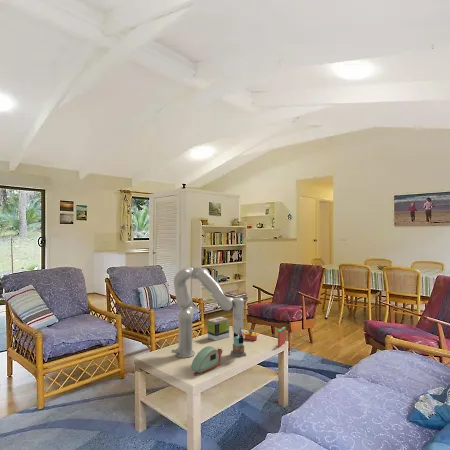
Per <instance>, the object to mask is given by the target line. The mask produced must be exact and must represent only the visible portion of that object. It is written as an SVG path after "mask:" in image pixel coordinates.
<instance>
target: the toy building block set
mask: <svg viewBox="0 0 450 450" xmlns="http://www.w3.org/2000/svg"><path fill="white" fill-rule="evenodd" d="M286 327H287V326H283V327H280V329H278V331H277V348H280V347H282V346H283V345H284V344H286V343H285V341H286V342H287V330H286ZM254 331H255V330H254V329H249V330H247V331H244V340H249V341H257V340H258V336H259V333H256V332H254ZM240 335H241V334H240Z"/></svg>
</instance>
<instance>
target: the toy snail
mask: <svg viewBox="0 0 450 450" xmlns="http://www.w3.org/2000/svg"><path fill="white" fill-rule="evenodd" d="M222 354H223V349H222V348H216V347H214V346H211V345H210V346H206V347H203V348H202V349H201V350H200V351H199V352H197V353H196V355H195V356H194V358H193V360H192V362H191V366H190V369H191V371H192V372H194V373H193V374H194V375H193V376H197V375H196V374H199V375H201V373H202V374H204V372H205V373H207V372H210V371H211V370H214V369H215V368H217V367H219V366H220V365H221V358H222Z"/></svg>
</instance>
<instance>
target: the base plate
mask: <svg viewBox="0 0 450 450" xmlns="http://www.w3.org/2000/svg"><path fill="white" fill-rule="evenodd" d="M230 354H231V355H232V356H233V357H234V358H239V357H246V356H247V353H246V352H245V351H244V353H240V354H235V353H234V352H233V349H232V350H230Z"/></svg>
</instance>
